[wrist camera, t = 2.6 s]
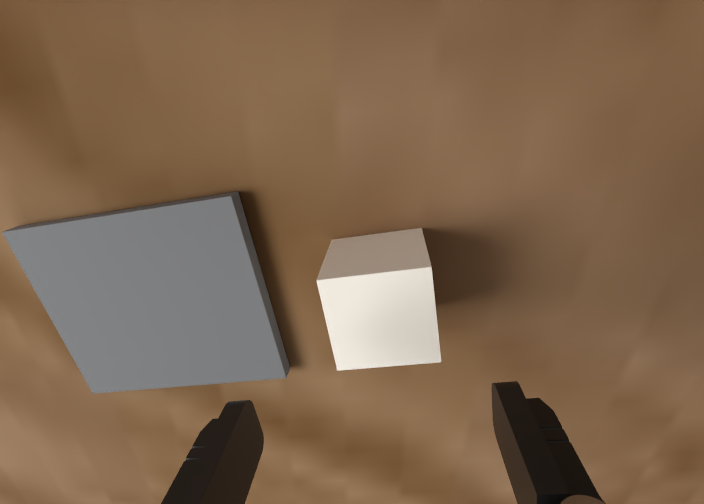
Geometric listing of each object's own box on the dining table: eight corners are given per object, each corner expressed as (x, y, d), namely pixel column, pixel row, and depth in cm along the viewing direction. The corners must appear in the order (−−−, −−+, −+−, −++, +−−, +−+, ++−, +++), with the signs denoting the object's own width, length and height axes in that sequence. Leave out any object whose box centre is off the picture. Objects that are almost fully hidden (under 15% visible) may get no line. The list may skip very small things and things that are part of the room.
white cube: (421, 227, 20) (431, 266, 16) (429, 306, 22) (441, 362, 18) (331, 239, 21) (316, 280, 16) (347, 314, 23) (337, 370, 18)
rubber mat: (237, 191, 20) (230, 196, 19) (289, 367, 25) (286, 378, 24) (17, 226, 22) (1, 232, 21) (102, 383, 27) (92, 393, 26)
